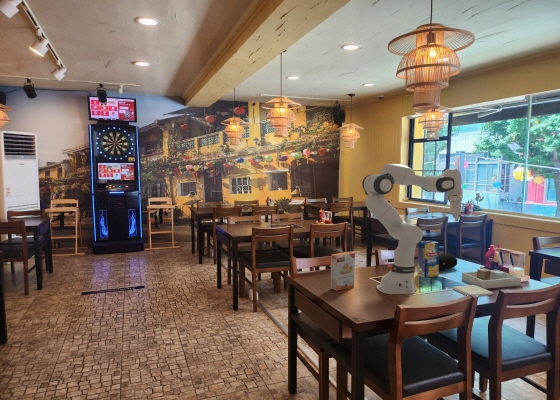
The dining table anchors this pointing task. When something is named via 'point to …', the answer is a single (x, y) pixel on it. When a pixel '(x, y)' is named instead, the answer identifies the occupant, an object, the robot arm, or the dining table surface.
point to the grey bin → (508, 281)
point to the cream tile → (472, 290)
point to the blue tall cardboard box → (428, 258)
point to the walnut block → (483, 274)
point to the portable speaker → (447, 261)
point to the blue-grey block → (497, 275)
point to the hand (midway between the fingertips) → (455, 219)
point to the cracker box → (342, 270)
